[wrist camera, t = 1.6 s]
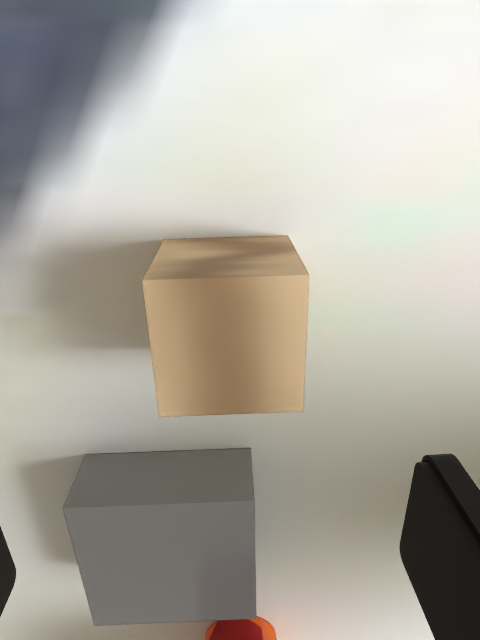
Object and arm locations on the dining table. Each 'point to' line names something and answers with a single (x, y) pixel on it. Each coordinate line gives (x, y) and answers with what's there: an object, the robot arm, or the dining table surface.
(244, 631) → the paper cup
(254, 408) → the oak cube
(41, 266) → the dining table surface
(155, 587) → the slate pedestal
